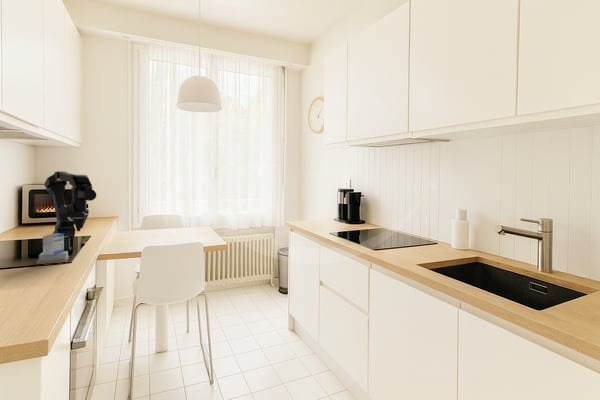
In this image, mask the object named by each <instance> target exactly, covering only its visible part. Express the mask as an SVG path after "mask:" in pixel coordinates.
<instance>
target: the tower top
mask: <svg viewBox="0 0 600 400" xmlns="http://www.w3.org/2000/svg"><path fill="white" fill-rule="evenodd" d="M68 256H69V250H68V251H63V252H60V253H57V254H55V255H43V251H42V252H41V253H40V254H38V259H39V261H42V260H57V259H66V258H67V257H68Z"/></svg>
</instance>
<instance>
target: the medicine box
mask: <svg viewBox="0 0 600 400" xmlns="http://www.w3.org/2000/svg"><path fill="white" fill-rule="evenodd" d="M63 251H64V234H60V233H56V234H53V233H52V234H48V235H44V236H42V252H43V255H55V254H57V253H60V252H63Z"/></svg>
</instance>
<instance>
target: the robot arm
mask: <svg viewBox="0 0 600 400" xmlns="http://www.w3.org/2000/svg"><path fill="white" fill-rule="evenodd" d="M68 183H69V185H71V188H70V189H71V191H72V201H71V204H68V205H66V204H65V203H66V202H65V199H64V192H65V190H66V186H67V184H68ZM44 187H45V189H46V192H47V193H48V194H49V195H50V196H51V198H52V203H53V208H54V211H55V217H56V221H57V222H55V223H56V224H55V226H54V230H53V233H52V234H56V233H60V234H64V251H68V252H69V251H71V250H72V247H71V239H74V238H75V234H76V232H80V231H81V229H83V228H84V226H85V223H86V221H87V218H88V216H89V213H90V210H89V209H88V208H87V203H88V201H91V202H92V201H94V200H95V199H96V198H97V192H96V191H95V190H94V189H93V185H92V182H91V181H90V178H89V177H88V175H87V174H75V173H69V172H67V171H62V170H61V171H54V173H53V174H52V175H50V176H49V177H47V178H46V180H45V181H44ZM69 212H70V213H69ZM68 213H69V215H68Z"/></svg>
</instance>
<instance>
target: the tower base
mask: <svg viewBox="0 0 600 400" xmlns="http://www.w3.org/2000/svg"><path fill="white" fill-rule="evenodd" d="M68 259H70V256H69V255H68V257H67V258H66V259H57V260H42V261H39V258H38V259H37V260H36V261H35V265H36V264H43V263H59V262H66V261H67V260H68ZM68 261H69V260H68ZM68 261H67V262H68ZM67 262H66V263H67ZM59 264H60V263H59Z"/></svg>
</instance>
